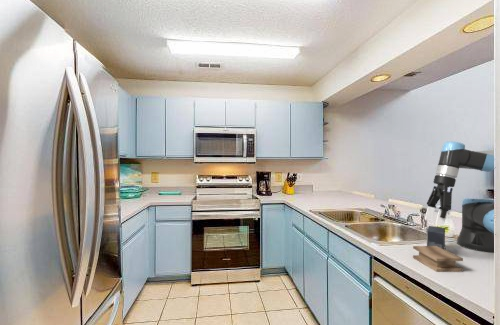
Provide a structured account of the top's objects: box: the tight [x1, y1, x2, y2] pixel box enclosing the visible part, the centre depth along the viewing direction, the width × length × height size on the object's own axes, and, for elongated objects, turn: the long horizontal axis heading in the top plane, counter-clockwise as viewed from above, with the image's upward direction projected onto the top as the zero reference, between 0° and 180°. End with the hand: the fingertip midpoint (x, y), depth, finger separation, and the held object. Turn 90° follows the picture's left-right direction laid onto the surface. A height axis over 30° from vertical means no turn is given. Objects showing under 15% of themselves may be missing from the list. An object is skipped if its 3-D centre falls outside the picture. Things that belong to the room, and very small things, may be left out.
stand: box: [412, 245, 464, 273], centre depth 100 cm, size 10×13×5 cm
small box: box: [426, 225, 446, 250], centre depth 113 cm, size 11×6×10 cm, turn 141°
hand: (433, 222), depth 111 cm, fingers open, 13 cm apart
